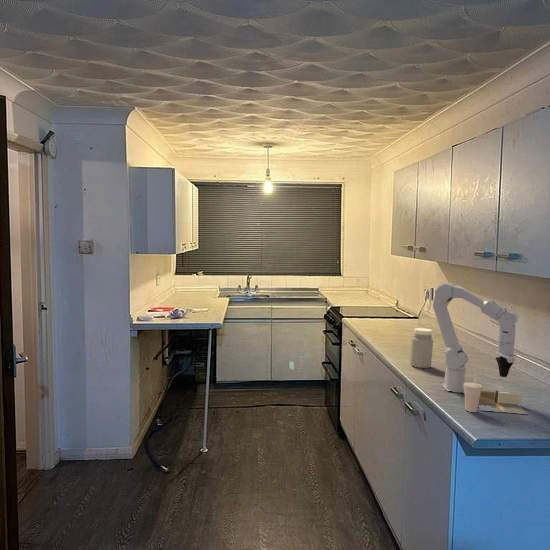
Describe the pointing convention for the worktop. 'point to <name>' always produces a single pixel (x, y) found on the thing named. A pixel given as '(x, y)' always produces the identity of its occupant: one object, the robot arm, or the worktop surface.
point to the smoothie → (472, 395)
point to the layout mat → (504, 407)
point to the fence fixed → (488, 396)
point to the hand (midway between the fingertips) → (503, 376)
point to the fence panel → (509, 398)
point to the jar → (421, 348)
